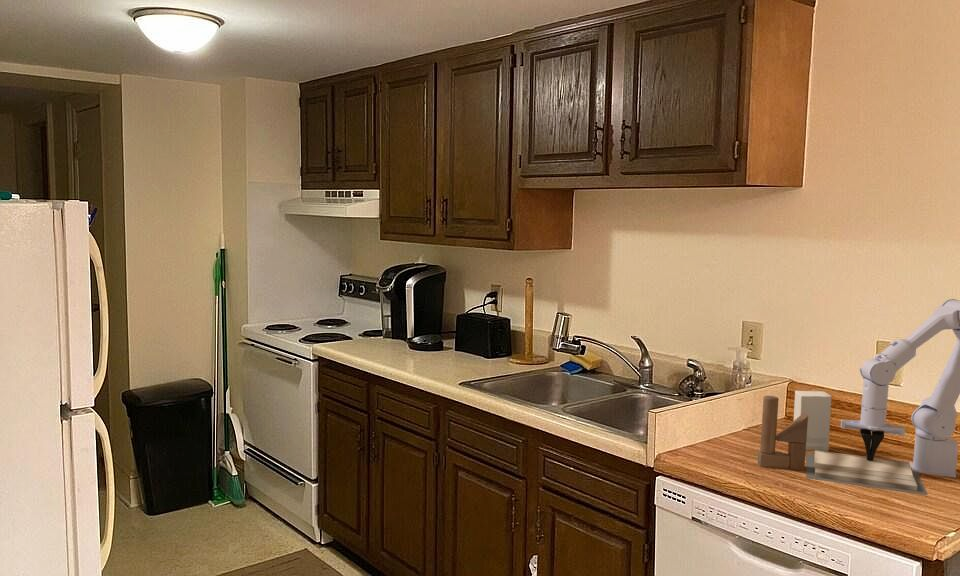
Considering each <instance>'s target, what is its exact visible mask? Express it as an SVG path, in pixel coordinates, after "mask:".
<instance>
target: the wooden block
mask: <svg viewBox="0 0 960 576" xmlns="http://www.w3.org/2000/svg"><path fill="white" fill-rule="evenodd" d="M762 402H763V403H762V414H761V415H762V416H761V418H762V419H761V428H760V429H761V432H760V447H759V450H758V451H757V464H758V466H759V467H760V468H771V469H781V470H784V469H785V470H798V471H799V470H800V471H805V468H806V453H807V452H806V451H807V450H806V439H807V425H808V416H807V415H806V414H805V413H803V414H802V415H800V416H799V417H798V418H797V419H796V420H794V419H793V421H791V422H790V423H789V424H788V425H786V427H784V428H782V430H781V431H780V432H778V433H777V431H778V430H777V427H778V412H779V397H778V396H775V395H764V396H763V399H762ZM777 442H784V443H787V453H786V452H783V451H779V450H778V451H776V446H777V445H776V443H777Z"/></svg>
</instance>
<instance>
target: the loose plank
mask: <svg viewBox="0 0 960 576" xmlns="http://www.w3.org/2000/svg"><path fill="white" fill-rule="evenodd" d="M814 455H815V463H818V464H826V465H833V466H840V467H848V468H855V469H863V470H870V471H878V472H885V473H892V474H900V475H907V476H913V474H912V470H911V466H910V463H909V462H910V461H901V460H893V459H887V458H879V457H874V458H873V461H872V460H867V458H866V456H861V455H856V454H855V455H854V454H848V453H847V454H846V453H841V452H840V453H838V452H831V451H817V450H815V451H814Z"/></svg>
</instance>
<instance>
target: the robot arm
mask: <svg viewBox="0 0 960 576" xmlns="http://www.w3.org/2000/svg"><path fill="white" fill-rule="evenodd" d="M943 330H952V331H953V333H954V335H955V337H956V339H957V340H956V343H955V345H954V347H953V348H952V351H951V353H950V356H949V358H948V359H947V362H946V363H945V367H944V368H943V370H942V372H941V374H940V376H939V379H938V380H937V383H936V386H935V387H934V389H933V392H932V393H931V395H930V396H929V397H926V398H925V399H923V400H922V402H921V404H920V405H919V406H918V407H916V409H914V410H913V412H912V414H911V417H910V418H911V420H910V421H911V423H912V426H913V427H914V428H915V429H914V430H915V436H914V437H915V438H914V447H913V449H914V450H913V459H912V460H913V461H908V462H909V463H910V467H911V468H912V470H913V472H918V474H919V473H920V474H926V475H933V476H940V477H942V476H943V477H950V478H957V464H958V454H959V453H958V451H959V450H958V449H959V445H958V441H957V439H954V438H951V437H952V436H953V434H954V433H955V431H956V420H957V418H958V412H957V410H956V407H955V406H956V403H957V401H958V399H959V397H960V300H959V299H956V298H950V299H949V298H948V299H946V300H945V301H943V302H942V304H941V305H938V306H937V307H936V308H935V309H934V311H933V313H932V314H930V316H928V318H926V319H925V320H924V321H923V322H922V323H921V324H920V325H918V327H917V328H916V329H914V330H913V331H912V333H910V334H909V335H908V336H907V337H906V338H904V339H902V338H897V339H896V340H893V339H892V340H891V341H890V342H889V346H887V347H886V348H885V349H884V350H883V351H881V352H880V353H877V354H875V355H874V358H870V359H867V360H866V361H864V362H863V364H862V366H861V368H859V374H860V376H861V377H862V379H863V383H862V384H863V386H862V397H861V398H862V399H861V407H860V409H861V410H860V420H859V419H858V420H853V419H840V428H841V429H843V430H844V429H850V430H858V431H859V432H860V436H861V438H862V440H863V443H864V446H865V447H864V448H865V453H866V454H865V457H866V458H867V460H872V461H873V458H875V454H876V452H877V450H878V448H879V446H880V444H881V443H882V441H884V438H885V434H891V435H898V436H901V437H905V435H906V427H905V426H900V425H895V424H890V423H886V422H887V421H886V419H887V409H888V397H889V384H890V383H892V382H893V381H894V379H895V376H896V373H897V372H898V371H899V370H900V369H901V368H903V367H904V366H905V365H907V364H908V362H910V361H911V360H912V359H914V358H915V357H916V355H917V349H918V348H919V347H921V346H922V345H924V344H925V343H927V342H928V341H930V340H931V339H932V338H933V337H935V336H937V334H939V333H940V332H942V331H943Z"/></svg>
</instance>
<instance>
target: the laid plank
mask: <svg viewBox="0 0 960 576" xmlns="http://www.w3.org/2000/svg"><path fill="white" fill-rule="evenodd" d="M815 477H819V478H827V479H834V480H841V481H848V482H855V483H862V484H869V485H876V486H883V487H890V488H898V489H905V490H912V491H917V484H916V482H915V479H914V477H913V476H907V475H900V474H892V473H885V472H878V471H870V470H863V469H855V468H848V467H840V466H833V465H826V464H818V463H815Z"/></svg>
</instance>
